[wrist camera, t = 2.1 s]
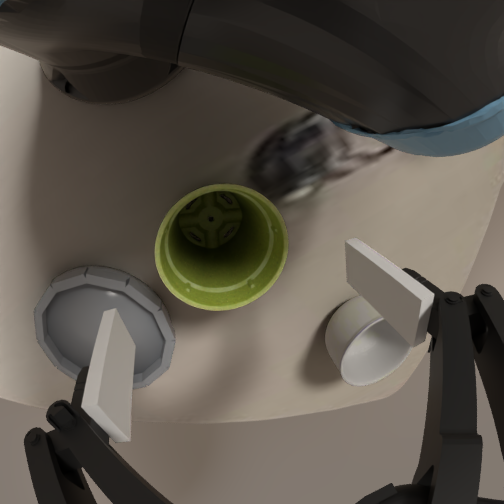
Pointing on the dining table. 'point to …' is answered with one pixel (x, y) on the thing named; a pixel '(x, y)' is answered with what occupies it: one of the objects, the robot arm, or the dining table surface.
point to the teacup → (364, 343)
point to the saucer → (90, 315)
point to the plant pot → (221, 247)
